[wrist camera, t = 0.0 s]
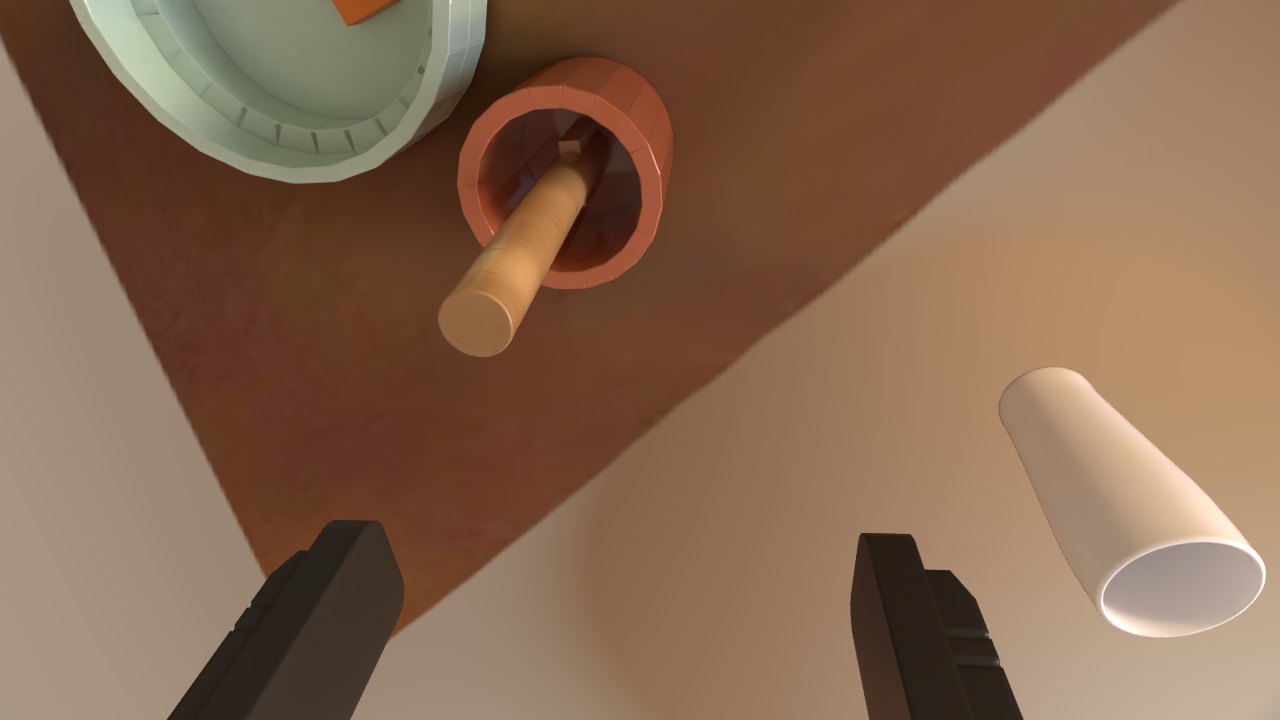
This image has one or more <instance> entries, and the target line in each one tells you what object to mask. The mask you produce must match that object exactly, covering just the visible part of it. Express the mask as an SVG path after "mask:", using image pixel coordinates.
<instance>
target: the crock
mask: <svg viewBox="0 0 1280 720" xmlns="http://www.w3.org/2000/svg"><path fill="white" fill-rule="evenodd" d="M578 118H592V119H593V120H595V121H596V128H597V130H598V131H600V132H601V133H602V134H603V135H604V136H605V137H606V139H607V141H608V143H609V148H610V151H609V156H608V159H607V161H606V163H605V165H604V166H603V168H602V170H601V179H600V181H599V183H598V185H597V187H596V189H595V190H594V192H593V194H592V196H591V198H590V200H589V202H588V204H587V206H586V207H582V208H581V210H580V212H579V213H578V215H577V217H576V219H575V221H574V223H573V225H572V227H571V229H570V230H569V232H568V234H567V236H566V238H565V240H564V242H563V244H562V245H561V247H560V249H559V251H558V253H557V255H556V257H555V259H554V261H553V262H552V264H551V266H550V268H549V270H548V272H547V274H546V276H545V278H544V279H543V281H542V283H541V285H543V286H547V287H550V288H554V289H585V288H586V287H587V288H590V287H593V286H596V285H599V284H602V283H605V282H608V281H611V280H613V279H615V278H617V277H618V276H619V275H621V274H622V273H623V272H625V271H626V270H627V269H629V268H630V267H631V266H633V265H634V264H635V263H636V262H638V261H639V259H640V258H641V256H642V255H643V254H644V252H645V251H646V249H647V248H648V246H649V245H650V243H651V242H652V240H653V239H654V236H655V234H656V230H657V226H658V223H659V219H660V215H661V212H662V208H663V203H664V198H665V194H666V189H667V185H668V180H669V175H670V171H671V166H672V162H673V142H674V141H673V132H672V127H671V122H670V118H669V116H668V113H667V111H666V108H665V106H664V104H663V102H662V100H661V99H660V97H659V96H658V94H657V93H656V91H655V90H654V89H653V87H652V86H651V85H650V84H649V83H648V82H647V81H646V80H645V79H644V78H643V77H642V76H640V75H639V74H638V73H637V72H635V71H634V70H632V69H631V68H629V67H627V66H626V65H623V64H621V63H619V62H617V61H614V60H611V59H607V58H603V57H597V56H579V57H571V58H568V59H564V60H561V61H559V62H557V63H554V64H552V65H550V66H549V67H547V68H544V69H542V70H541V71H539V72H538V73H536V74H535V75H533V76H532V77H530V78H529V79H527V80H526V81H525V82H523V83H522V84H520V85H519V86H517V87H516V88H514V89H513V90H511V91H510V92H508V93H507V94H505V95H504V96H502V97H501V98H499V99H498V100H497V101H495V102H494V103H493V104H492V105H491V106H490V107H489V108H488V109H487V110H486V111H485V112H484V113H483V114H482V115H481V116H480V117H479V118H478V119H477V120H476V121H475V123H474V124H473V125H472V127H471V129H470V131H469V134H468V136H467V138H466V140H465V142H464V144H463V147H462V149H461V152H460V156H459V166H458V176H457V187H458V192H459V196H460V201H461V206H462V210H463V214H464V216H465V218H466V220H467V222H468V224H469V226H470V227H471V229H472V231H473V233H474V235H475V237H476V238H477V240H478V242H480V244H481V246H482V247H483V248H485V247H486V246H487V244H488V243H489V242H490V240H491V239H492V238H493V237H494V235H495V234H496V233H497V232H498V230H499V229H500V228H501V226H502V225H503V224H504V223H505V221H506V220H507V219H508V218H509V216H510V215H511V214H512V212H513V211H514V210H515V209H516V207H517V206H518V205H519V204H520V202H521V201H522V200H523V198H524V197H525V196H526V195H527V193H528V192H529V191H530V190H531V188H532V187H533V186H534V184H535V183H536V182H537V181H538V179H539V178H540V177H541V175H542V174H543V173H544V172H545V170H546V169H547V168H548V167H549V165H550V164H551V163H552V161H553V160H554V159H555V158H556V156H557V155H558V154H559V145H558V141H559V140H560V139H561V137H562V136H563V135H564V134H565V133H566V132H567V130H568V129H569V128H570V127H571V126H572V124H573V123H574V122H575V121H576V120H577V119H578Z"/></svg>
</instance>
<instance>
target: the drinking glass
mask: <svg viewBox="0 0 1280 720" xmlns="http://www.w3.org/2000/svg"><path fill="white" fill-rule="evenodd" d="M999 416H1000V419H1001V421H1002V424H1003V425H1004V427H1005V429H1006V430H1007V432H1008V434H1009V435H1010V437H1011V439H1012V441H1013V443H1014V446H1015V448H1016V450H1017V452H1018V454H1019V457H1020V459H1021V461H1022V463H1023V466H1024V468H1025V470H1026V472H1027V475H1028V477H1029V479H1030V481H1031V484H1032V486H1033V488H1034V491H1035V493H1036V495H1037V497H1038V500H1039V502H1040V504H1041V506H1042V509H1043V511H1044V514H1045V516H1046V518H1047V520H1048V523H1049V525H1050V527H1051V529H1052V532H1053V534H1054V536H1055V538H1056V540H1057V542H1058V544H1059V546H1060V548H1061V550H1062V552H1063V554H1064V556H1065V558H1066V560H1067V562H1068V564H1069V565H1070V567H1071V569H1072V571H1073V572H1074V574H1075V576H1076V577H1077V579H1078V581H1079V582H1080V584H1081V585H1082V587H1083V589H1084V590H1085V592H1086V593H1087V595H1088V596H1089V598H1090V599H1091V601H1092V602H1093V604H1094V605H1095V607H1096V609H1097V610H1098V612H1099V613H1100V615H1101V616H1102V617H1103V618H1104V619H1105V620H1106V621H1107V622H1108V623H1109V624H1111V625H1112V626H1114V627H1115V628H1117V629H1119V630H1122V631H1124V632H1127V633H1130V634H1134V635H1138V636H1145V637H1177V636H1184V635H1189V634H1194V633H1198V632H1201V631H1205V630H1208V629H1211V628H1214V627H1216V626H1218V625H1221V624H1223V623H1225V622H1227V621H1229V620H1231V619H1232V618H1234V617H1236V616H1237V615H1239V614H1240V613H1241V612H1243V611H1244V610H1245V609H1247V607H1249V606H1250V605H1251V604H1252V603H1253V602H1254V601H1255V599H1256V598H1257V597H1258V595H1259V594H1260V592H1261V590H1262V588H1263V586H1264V583H1265V578H1266V577H1265V576H1266V571H1265V566H1264V563H1263V561H1262V559H1261V558H1260V556H1259V555H1258V554H1257V552H1256V551H1255V550H1254V549H1253V548H1252V546H1251V545H1250V544H1249V543H1248V541H1247V540H1246V539H1245V537H1244V536H1243V535H1242V534H1241V532H1240V531H1239V530H1238V529H1237V528H1236V526H1235V525H1234V524H1233V523H1232V522H1231V520H1230V519H1229V518H1228V517H1227V516H1226V515H1225V514H1224V512H1223V511H1222V510H1221V509H1220V508H1219V507H1218V506H1217V505H1216V503H1214V501H1213V500H1212V499H1211V498H1210V497H1209V496H1208V495H1207V494H1206V493H1205V492H1204V491H1203V490H1202V489H1201V488H1200V487H1199V486H1198V485H1197V484H1196V483H1195V482H1194V481H1193V480H1192V479H1191V478H1190V477H1189V476H1188V475H1187V474H1185V473H1184V472H1183V471H1182V470H1181V469H1180V468H1179V467H1178V466H1177V465H1176V464H1175V463H1174V462H1172V461H1171V460H1170V459H1169V458H1168V457H1167V456H1166V455H1165V454H1164V453H1162V452H1161V451H1160V450H1159V449H1158V448H1157V447H1156V446H1155V445H1154V444H1153V443H1151V442H1150V441H1149V440H1148V439H1147V438H1146V437H1145V436H1144V435H1143V434H1142V433H1140V432H1139V431H1138V430H1137V429H1136V428H1135V427H1134V426H1133V425H1132V424H1131V423H1129V422H1128V421H1127V420H1126V419H1125V418H1124V417H1123V416H1122V415H1121V414H1120V413H1119V412H1118V411H1117V410H1116V409H1114V408H1113V407H1112V406H1111V405H1110V404H1109V403H1108V402H1107V401H1106V400H1105V399H1104V398H1102V396H1101V395H1100V394H1099V393H1098V392H1097V391H1096V390H1095V389H1094V388H1093V386H1092V385H1091V384H1090V383H1089V382H1088V381H1087V380H1086V379H1085V378H1084V377H1083V376H1082V375H1080V374H1078V373H1077V372H1075V371H1072V370H1070V369H1066V368H1062V367H1044V368H1039V369H1035V370H1032V371H1030V372H1027V373H1025V374H1023V375H1022V376H1020V377H1018V378H1017V379H1015V380H1014V381H1013V382H1012V383H1011V384H1010V385H1009V386H1008V387H1007V388H1006V390H1005V391H1004V393H1003V395H1002V397H1001V399H1000V403H999Z"/></svg>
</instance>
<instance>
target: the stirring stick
mask: <svg viewBox="0 0 1280 720" xmlns="http://www.w3.org/2000/svg"><path fill="white" fill-rule="evenodd" d="M558 145H559V154H558V155H557V156H556V158H555V159H554V160H553V161H552V163H551V164H550V165H549V167H548V168H547V169H546V170H545V172H544V173H543V174H542V175H541V177H540V178H539V179H538V181H537V182H536V183H535V184H534V186H533V187H532V188H531V190H530V191H529V192H528V193H527V195H526V196H525V197H524V198H523V200H522V201H521V202H520V204H519V205H518V206H517V207H516V209H515V210H514V211H513V212H512V214H511V215H510V216H509V218H508V219H507V220H506V221H505V223H504V224H503V225H502V226H501V228H500V229H499V230H498V232H497V233H496V234H495V235H494V237H493V238H492V239H491V240H490V242H489V243H488V244H487V246H486V247H485V248H484V249H483V251H482V252H481V253H480V254H479V256H478V257H477V258H476V260H475V261H474V262H473V263H472V265H471V266H470V267H469V269H468V270H467V271H466V272H465V274H464V275H463V276H462V277H461V279H460V280H459V281H458V283H457V284H456V285H455V286H454V288H453V289H452V290H451V291H450V293H449V294H448V295H447V297H446V298H445V299H444V300H443V302H442V303H441V306H440V308H439V312H438V321H439V326H440V329H441V331H442V334H443V335H444V337H445V338H446V339H447V341H448V342H449V343H450V344H451V345H452V346H454V347H455V348H456V349H458V350H459V351H461V352H463V353H465V354H468V355H471V356H476V357H488V356H492V355H495V354H498V353H500V352H501V351H503V350H504V349H505V348H506V347H507V346H508V345H509V343H510V342H511V340H512V338H513V336H514V334H515V332H516V330H517V328H518V326H519V325H520V323H521V321H522V319H523V317H524V315H525V313H526V311H527V310H528V308H529V306H530V304H531V302H532V300H533V298H534V296H535V294H536V293H537V291H538V289H539V287H540V285H541V283H542V281H543V279H544V278H545V276H546V274H547V272H548V270H549V268H550V266H551V264H552V262H553V261H554V259H555V257H556V255H557V253H558V251H559V249H560V247H561V245H562V244H563V242H564V240H565V238H566V236H567V234H568V232H569V230H570V229H571V227H572V225H573V223H574V221H575V219H576V217H577V215H578V213H579V212H580V210H581V208H582V207H586V206H587V204H588V202H589V200H590V198H591V196H592V194H593V192H594V190H595V189H596V187H597V185H598V183H599V181H600V179H601V170H602V168H603V166H604V165H605V163H606V161H607V159H608V156H609V151H610V148H609V143H608V141H607V139H606V137H605V136H604V135H603V134H602V133H601V132H600V131H598V130H597V128H596V121H595V120H593V119H592V118H578V119H577V120H576V121H575V122H574V123H573V124H572V126H571V127H570V128H569V129H568V130H567V132H566V133H565V134H564V135H563V136H562V137H561V139H560V140H559V141H558Z"/></svg>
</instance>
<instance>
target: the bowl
mask: <svg viewBox="0 0 1280 720" xmlns="http://www.w3.org/2000/svg"><path fill="white" fill-rule="evenodd" d="M69 1H70V4H71V6H72V8H73V10H74V12H75V15H76V17H77V19H78V21H79V23H81V27H82V28H83V30H84V31H85V33H86V34H87V36H88V37H89V39H90V40H91V42H92V43H93V44H94V46H95V47H96V49H97V50H98V52H99V53H100V55H101V56H102V58H103V59H104V61H105V62H106V64H107V65H108V67H109V68H110V69H111V71H112V72H113V74H114V75H115V76H116V78H117V79H118V80H119V81H120V82H121V83H122V84H123V85H124V86H125V87H126V88H127V89H128V90H129V91H130V92H131V93H132V94H133V95H134V96H135V97H136V98H137V99H138V101H139V102H140V103H141V104H142V105H143V106H144V107H145V108H146V109H147V110H148V111H149V112H150V113H151V114H152V115H153V116H154V117H155V118H156V119H157V120H158V121H159V122H161V123H162V124H163V125H165V126H166V127H167V128H169V129H170V130H171V131H173V132H174V133H176V134H177V135H178V136H180V137H181V138H182V139H184V140H185V141H187V142H188V143H189V144H191V145H192V146H193V147H195V148H196V149H197V150H199V151H200V152H203V153H205V154H207V155H209V156H211V157H213V158H216V159H218V160H220V161H222V162H224V163H226V164H228V165H230V166H233V167H235V168H237V169H239V170H241V171H243V172H245V173H248V174H251V175H256V176H261V177H265V178H270V179H274V180H279V181H283V182H288V183H294V184H300V183H323V182H336V181H341V180H344V179H347V178H349V177H352V176H355V175H358V174H360V173H363V172H366V171H369V170H372V169H374V168H376V167H378V166H380V165H381V164H383V163H384V162H386V161H388V160H389V159H391V158H392V157H394V156H396V155H397V154H399V153H400V152H402V151H403V150H405V149H407V148H408V147H410V146H411V145H413V144H414V143H416V142H418V141H419V140H420V139H422V138H423V137H424V136H425V135H427V134H428V133H429V132H430V131H432V130H433V129H434V128H436V127H437V126H438V125H439V124H441V123H442V122H443V121H444V120H446V119H447V118H448V117H449V115H450V114H451V112H452V111H453V110H454V108H455V107H456V105H457V104H458V102H459V101H460V99H461V98H462V96H463V95H464V93H465V92H466V90H467V89H468V87H469V86H470V84H471V82H472V78H473V75H474V72H475V69H476V66H477V63H478V60H479V57H480V53H481V50H482V47H483V44H484V39H485V29H486V12H487V0H402V1H400V2H398V3H396V4H395V5H393V6H391V7H389V8H388V9H386V10H384V11H382V12H381V13H379V14H377V15H375V16H373V17H372V18H370V19H368V20H366V21H365V22H363V23H361V24H358V25H353V26H347V25H346V24H345V22H344V20H343V18H342V17H341V15H340V13H339V12H338V10H337V8H336V7H335V5H334V3H333V1H332V0H69Z"/></svg>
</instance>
